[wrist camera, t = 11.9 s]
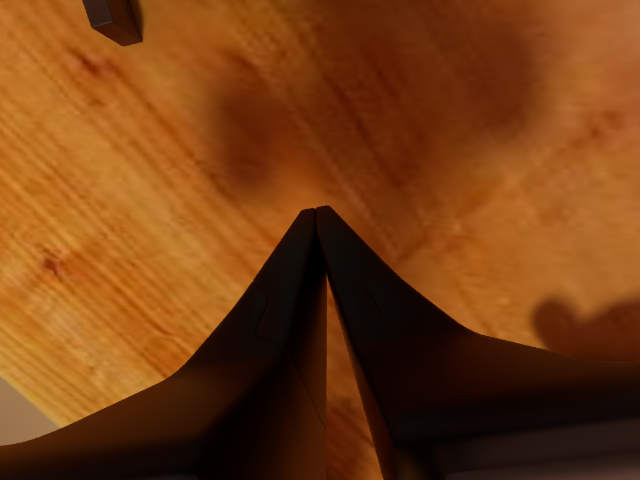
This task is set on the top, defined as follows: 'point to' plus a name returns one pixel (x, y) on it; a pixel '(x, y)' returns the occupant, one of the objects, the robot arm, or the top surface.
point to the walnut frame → (113, 20)
